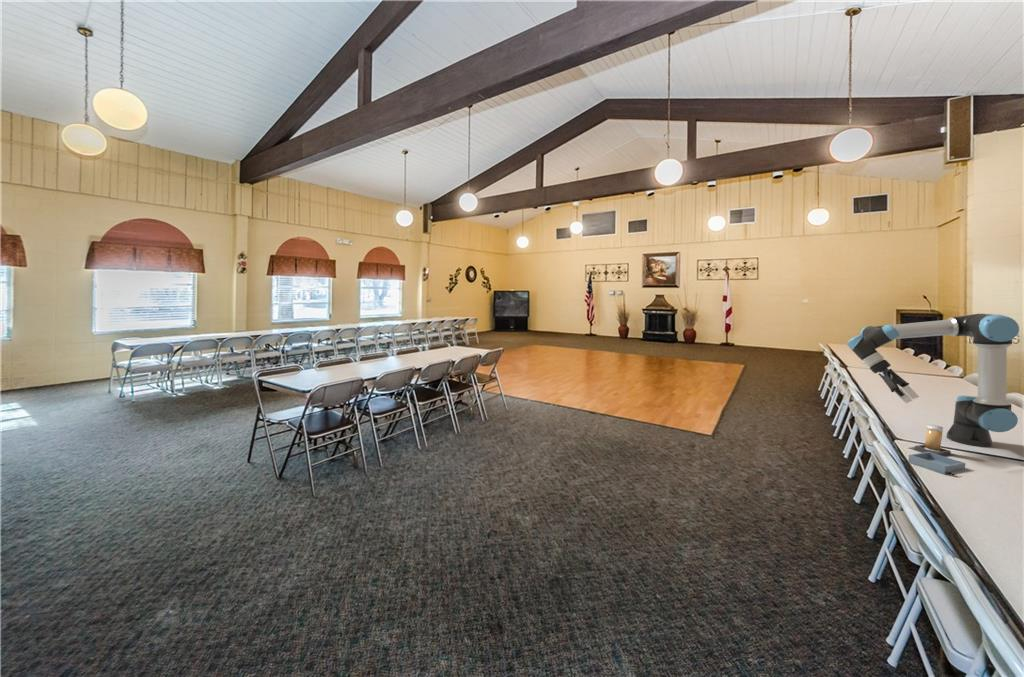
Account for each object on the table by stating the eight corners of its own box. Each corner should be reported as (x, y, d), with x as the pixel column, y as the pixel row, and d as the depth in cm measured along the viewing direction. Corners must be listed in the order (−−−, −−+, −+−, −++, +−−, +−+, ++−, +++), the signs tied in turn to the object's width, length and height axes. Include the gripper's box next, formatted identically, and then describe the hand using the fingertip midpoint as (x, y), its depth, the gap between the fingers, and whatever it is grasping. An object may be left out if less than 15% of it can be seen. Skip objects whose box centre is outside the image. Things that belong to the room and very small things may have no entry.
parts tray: (927, 459, 180) (928, 451, 180) (964, 471, 169) (965, 463, 168) (908, 462, 177) (909, 454, 177) (944, 474, 165) (945, 466, 165)
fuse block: (924, 447, 194) (925, 442, 194) (957, 457, 183) (958, 451, 182) (907, 450, 191) (907, 445, 191) (939, 460, 179) (940, 454, 179)
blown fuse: (928, 448, 190) (931, 424, 188) (942, 452, 185) (945, 427, 183) (921, 450, 188) (924, 425, 187) (935, 454, 184) (938, 428, 182)
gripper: (876, 365, 210) (910, 400, 200) (861, 369, 196) (897, 407, 186) (891, 357, 205) (927, 392, 195) (877, 360, 191) (915, 399, 181)
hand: (912, 400), depth 191 cm, fingers open, 13 cm apart
